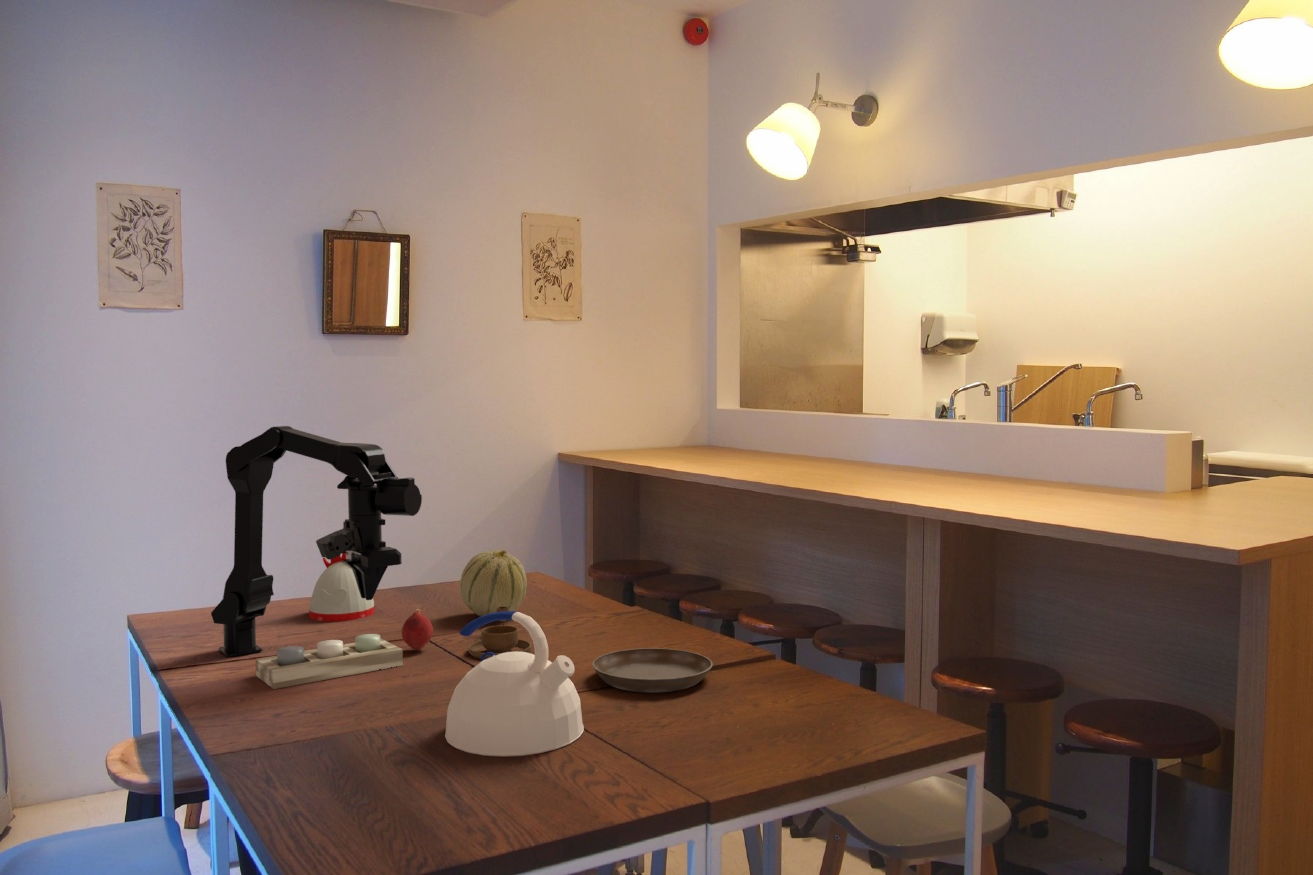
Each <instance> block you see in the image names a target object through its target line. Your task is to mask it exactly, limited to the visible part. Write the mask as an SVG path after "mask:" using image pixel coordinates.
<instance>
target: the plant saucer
mask: <svg viewBox="0 0 1313 875" xmlns="http://www.w3.org/2000/svg"><path fill="white" fill-rule="evenodd" d="M592 667H593V669H594V671H595V672H596V674H597V676H599V677H600V678H601V680H603V681H604V683H606V684H607V685H609V686H611V687H613V688H615V689H618V690H622V691H627V692H633V693H643V694H644V693H645V694H656V693H657V694H659V693H670V692H671V693H672V692H677V691H683V690H686V689H689V688H692V687H695V686H696V685H697V684H699V683H700V682H701V681H702V680H703V679H704V678H705V677H706V676H707V675H708V674H709V672H710V671H711V669H712V667H713V662H712V660H711V659H710V658H708V657H706V656H705V655H702V654H700V653H696V652H692V651H688V650H684V649H683V650H682V649H681V650H680V649H672V648H661V647H659V648H657V647H654V648H652V647H647V648H631V649H624V650H617V651H613V652H608V653H606V654H605V653H604V654H603V655H599V656H597V658H595V659H594V660H593V661H592Z"/></svg>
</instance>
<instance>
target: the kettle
mask: <svg viewBox="0 0 1313 875" xmlns="http://www.w3.org/2000/svg"><path fill="white" fill-rule="evenodd" d="M499 620H507V621H513V622H516V623H519V624H520V625H521V626H523V628H524V629H525V630H526V631H527V633H528V634H529V636H530V638H531V639H532V642H533V646H534V653H535V655H534V654H533V653H530V652H529V653H527V652H516V651H510V652H506V653H502V654H499V655H496V656H495V654H494V653H493V652H489V651H486V652H483V653H484V654H483V655H482V657H481V659H480V662H479V663H478V664H477V665H475V666H474V667H473V668H471V669H470V670H469V671H468V672H467V673H466V674H465V675H464V677H462V679H461V680H460V681H459V683H458V684H457V686H456V687H455V689H454V691H453V693H452V696H451V698H450V701H449V703H448V706H447V709H446V710H447V712H446V723H445V724H446V726H445V735H444V738H445V739H446V742H447V743H448V744H449V745H451V746H452V747H453V748H455V749H457V750H459V751H462V752H465V753H468V754H473V755H479V756H487V757H503V758H504V757H505V758H506V757H523V756H531V755H537V754H538V755H540V754H544V753H547V752H551V751H555V750H558V749H561V748H563V747H567V746H569V745H570V744H572V743H573V742H575V741H577V740H579V738H581V735H582V734H583V732H585V731H584V730H585V729H584V723H583V715H582V706H581V698H580V696H579V694H578V690H577V689H576V687H575V685H574V683H573V682H572V680H571V679H570V678H569V677H572V676H573V675H574V674H575V665H574V662H573V661H572V660H571V658H570V657H568V656H566V655H563V654H562V655H557V657H556V658H555V660H553V662H552V661H551V660H549V645H548V640H547V638H546V635H545V633H544V631H543V629H542V628H541V626H540V625H539V623H538V622H537V621H536V620H534V619H533V618H532V617H531V616H530V615H527V614H524V613H522V612H520V611H517V610H515V611H502V612H494V613H490V614H487V615H483V616H478V618H475V619H473V620H471V621H470V622H468V623H467V624H466V625H465V626H464V627H463V628H462V629H461V630H460V631H459V634H460V635H461V636H463V637H469V636H471V635H473V633H474V632H476V630H478V629H479V628H481V627H482V626H485V625H486V624H487V625H488V624H489V623H492V622H493V623H494V622H498V621H499ZM499 622H500V621H499ZM486 655H490V656H492V657H490V658H488V659H485V657H486Z"/></svg>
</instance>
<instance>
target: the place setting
mask: <svg viewBox="0 0 1313 875" xmlns="http://www.w3.org/2000/svg"><path fill="white" fill-rule="evenodd" d="M502 611H509V607H506V606H501V607H497V612H502ZM507 621H508V620H499V622H500V625H492V626H487V627H483V628H482V629H481V631H480V632H481V633H480V635H481V636H480V637H481V638H480V639H475V640H474V641H475V642H474V641H473V642H472V643H471V644H469V645H468V647H467V649H468V653H469V655H470V656H472V657H473V658H476V659H479V660H481V657H482V655H483V654H484V653H485V652H480V651H477V650H481V649H485V650H488V652H493V653H494V654H495V656H496V655H499V654H502V653H506V652H512V651H511V650H512V649H514V648H515V647H518V646H519V648H522V649H521V650H518V651H517V650H516V651H515V652H527V653H530V652H531V649H532V643H531V642H530V641H528V640H525V639H521V638H519V629H518V628H519V627H516V626H514V625H513V626H512V625H506V622H507ZM480 648H481V649H480ZM524 648H525V649H524ZM475 650H476V651H475ZM534 655H535V652H534ZM490 657H492V656H490V655H486V657H485V659H488V658H490Z"/></svg>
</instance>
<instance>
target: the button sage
mask: <svg viewBox="0 0 1313 875" xmlns="http://www.w3.org/2000/svg"><path fill="white" fill-rule="evenodd" d="M354 639H355V640H354V641H355V642H354V643H355V648H356V652H358V653H363V652H369V651H375V650H380V649H381V648H380V639H381V635H380V634H377V633H364V634H360V635H357V636H355V638H354Z"/></svg>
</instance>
